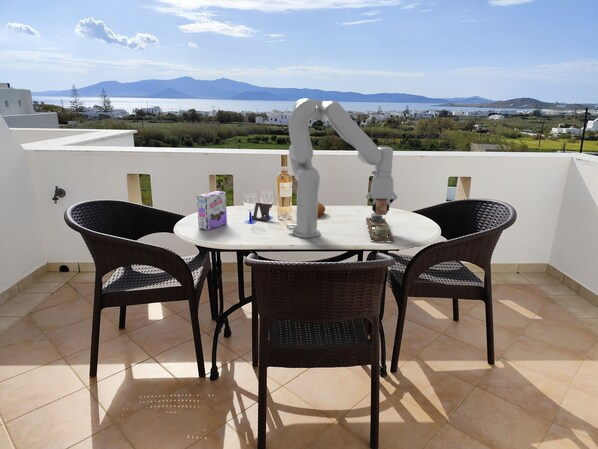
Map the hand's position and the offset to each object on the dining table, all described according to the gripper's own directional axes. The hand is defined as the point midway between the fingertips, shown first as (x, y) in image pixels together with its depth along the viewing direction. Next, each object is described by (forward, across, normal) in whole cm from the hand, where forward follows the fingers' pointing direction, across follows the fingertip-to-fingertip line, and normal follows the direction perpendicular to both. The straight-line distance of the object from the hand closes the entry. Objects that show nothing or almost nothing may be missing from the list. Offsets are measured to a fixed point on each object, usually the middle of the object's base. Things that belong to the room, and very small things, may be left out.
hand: (380, 211), depth 187 cm
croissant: (+10, -34, +25) cm, 44 cm away
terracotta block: (+1, 0, 0) cm, 1 cm away
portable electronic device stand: (+9, -59, +12) cm, 61 cm away
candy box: (+9, -80, -5) cm, 81 cm away
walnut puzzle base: (+10, 0, 0) cm, 10 cm away
